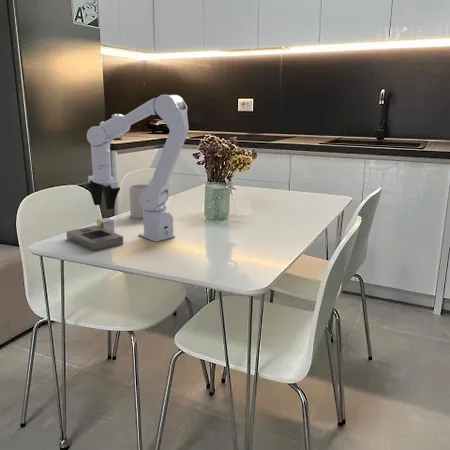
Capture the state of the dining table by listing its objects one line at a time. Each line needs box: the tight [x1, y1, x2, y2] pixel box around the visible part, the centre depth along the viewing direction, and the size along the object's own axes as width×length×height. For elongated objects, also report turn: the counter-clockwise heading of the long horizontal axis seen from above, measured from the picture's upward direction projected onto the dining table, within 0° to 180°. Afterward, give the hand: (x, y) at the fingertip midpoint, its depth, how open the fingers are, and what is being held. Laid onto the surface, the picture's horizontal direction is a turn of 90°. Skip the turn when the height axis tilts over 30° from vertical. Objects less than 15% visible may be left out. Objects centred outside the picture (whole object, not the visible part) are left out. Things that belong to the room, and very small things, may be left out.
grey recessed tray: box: [66, 224, 124, 252], centre depth 139 cm, size 16×10×2 cm, turn 45°
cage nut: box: [96, 217, 115, 233], centre depth 149 cm, size 4×5×4 cm
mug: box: [129, 184, 148, 219], centre depth 167 cm, size 12×8×11 cm
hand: (104, 206), depth 147 cm, fingers open, 7 cm apart
